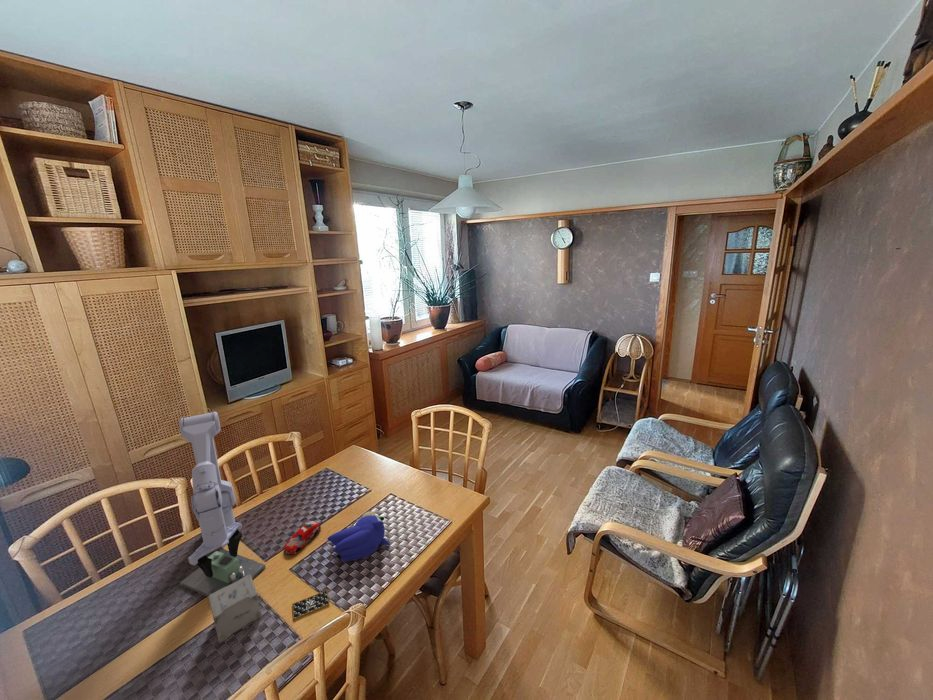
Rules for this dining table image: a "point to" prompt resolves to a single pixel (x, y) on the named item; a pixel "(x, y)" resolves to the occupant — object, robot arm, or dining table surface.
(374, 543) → the toy
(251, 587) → the grey box
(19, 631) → the dining table surface
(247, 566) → the chassis
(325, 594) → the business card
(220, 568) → the green box
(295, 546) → the race car
